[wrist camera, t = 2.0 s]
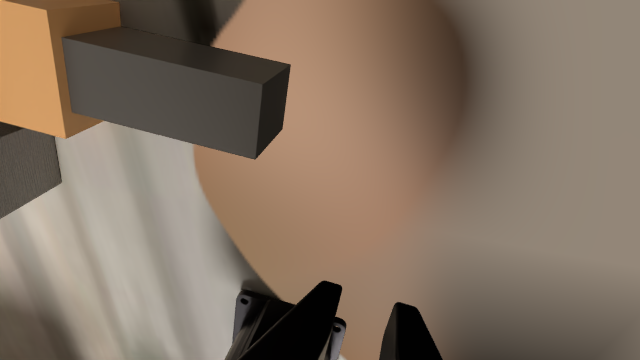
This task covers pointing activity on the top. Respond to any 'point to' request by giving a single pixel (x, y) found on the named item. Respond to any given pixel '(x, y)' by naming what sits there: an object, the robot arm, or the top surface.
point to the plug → (132, 79)
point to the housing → (25, 166)
